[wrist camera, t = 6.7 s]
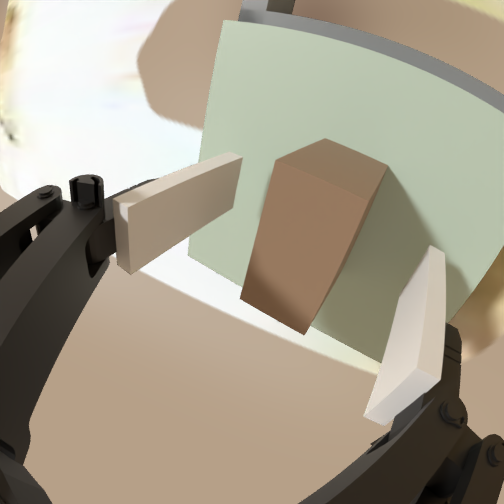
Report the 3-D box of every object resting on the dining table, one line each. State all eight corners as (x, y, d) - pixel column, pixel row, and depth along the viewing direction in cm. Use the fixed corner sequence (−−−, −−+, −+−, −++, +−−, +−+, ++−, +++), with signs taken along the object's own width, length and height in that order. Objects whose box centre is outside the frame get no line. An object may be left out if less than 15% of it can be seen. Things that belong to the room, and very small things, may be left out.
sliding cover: (237, 23, 13) (147, 6, 8) (542, 143, 8) (606, 179, 3) (198, 247, 22) (134, 294, 17) (405, 360, 17) (382, 441, 12)
